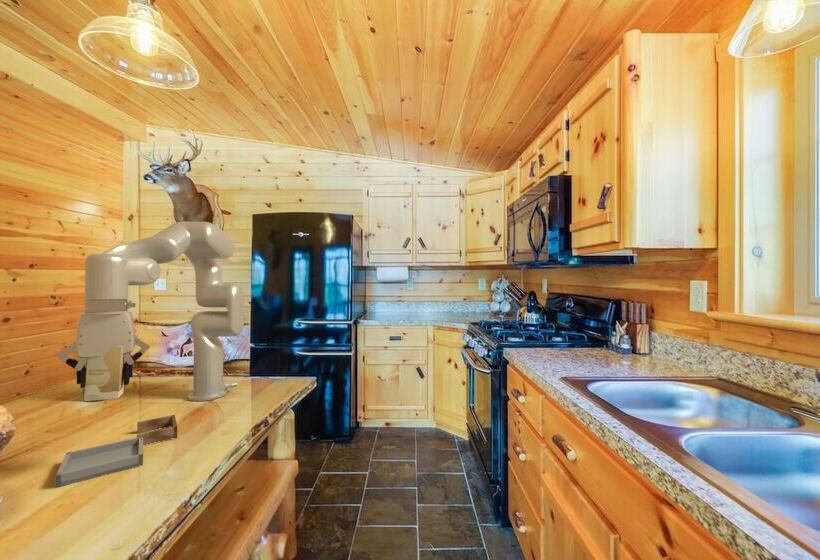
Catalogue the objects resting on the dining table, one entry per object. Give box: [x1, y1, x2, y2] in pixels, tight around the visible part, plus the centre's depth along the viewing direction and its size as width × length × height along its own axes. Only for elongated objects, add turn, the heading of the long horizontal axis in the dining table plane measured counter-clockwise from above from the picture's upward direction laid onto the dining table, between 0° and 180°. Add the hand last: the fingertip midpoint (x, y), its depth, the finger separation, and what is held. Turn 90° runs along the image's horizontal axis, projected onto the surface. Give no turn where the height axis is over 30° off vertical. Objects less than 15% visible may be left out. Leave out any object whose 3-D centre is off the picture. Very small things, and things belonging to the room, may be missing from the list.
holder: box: [136, 414, 178, 446], centre depth 93 cm, size 9×11×3 cm
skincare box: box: [83, 346, 126, 402], centre depth 78 cm, size 6×4×12 cm
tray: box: [55, 437, 144, 488], centre depth 78 cm, size 14×12×2 cm
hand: (105, 383), depth 78 cm, fingers closed on skincare box, 6 cm apart
